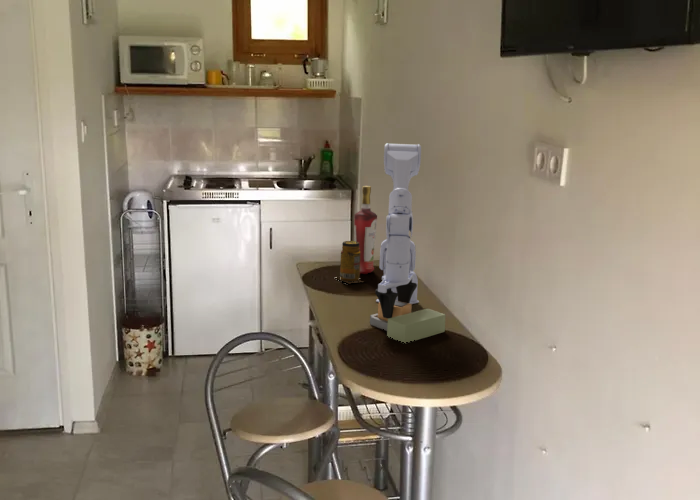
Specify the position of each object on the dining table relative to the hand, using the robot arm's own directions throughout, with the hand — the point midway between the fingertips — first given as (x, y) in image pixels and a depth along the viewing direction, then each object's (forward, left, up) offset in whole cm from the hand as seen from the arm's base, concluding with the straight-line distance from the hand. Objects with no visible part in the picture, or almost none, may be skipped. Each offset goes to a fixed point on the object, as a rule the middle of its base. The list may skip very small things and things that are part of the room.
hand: (395, 314), depth 178 cm
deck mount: (0, +3, -3) cm, 4 cm away
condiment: (-19, -39, -3) cm, 44 cm away
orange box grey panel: (0, 0, -3) cm, 3 cm away
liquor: (-29, -44, -3) cm, 53 cm away
